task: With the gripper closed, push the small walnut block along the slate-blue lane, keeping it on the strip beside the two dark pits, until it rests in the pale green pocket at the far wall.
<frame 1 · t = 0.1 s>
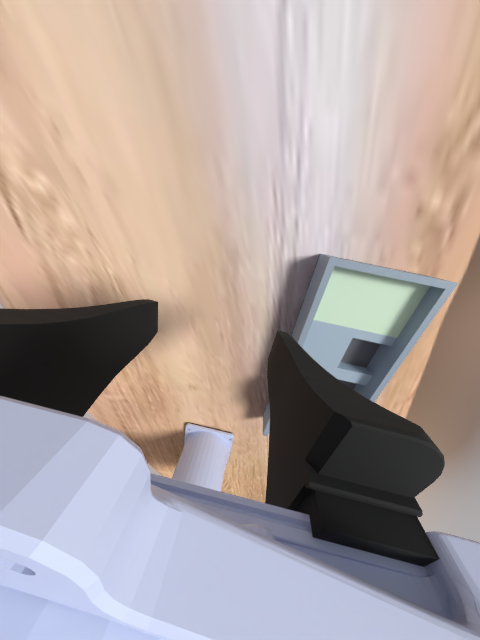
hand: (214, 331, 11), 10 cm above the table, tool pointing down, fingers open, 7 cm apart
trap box: (326, 361, 22), on the table
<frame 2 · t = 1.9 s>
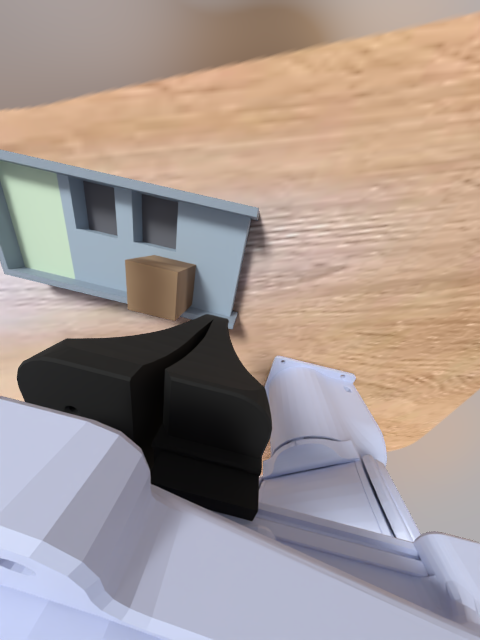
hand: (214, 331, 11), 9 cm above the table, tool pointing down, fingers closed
block: (174, 280, 18), point 2 cm above the table, touching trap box
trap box: (134, 244, 19), on the table
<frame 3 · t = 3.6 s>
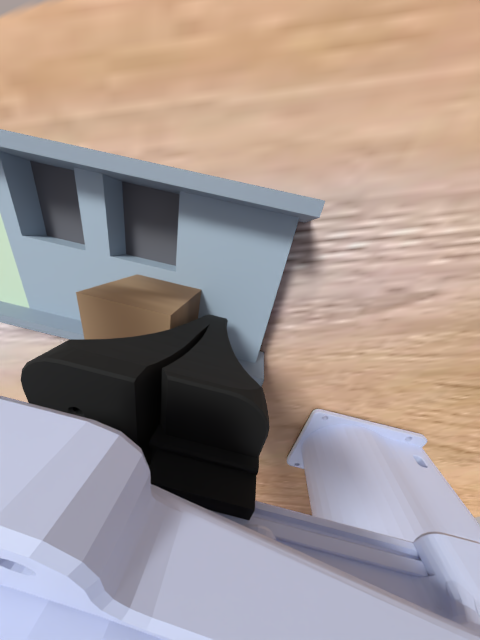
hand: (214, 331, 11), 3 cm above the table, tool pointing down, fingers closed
block: (167, 311, 12), point 2 cm above the table, touching gripper
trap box: (114, 258, 13), on the table
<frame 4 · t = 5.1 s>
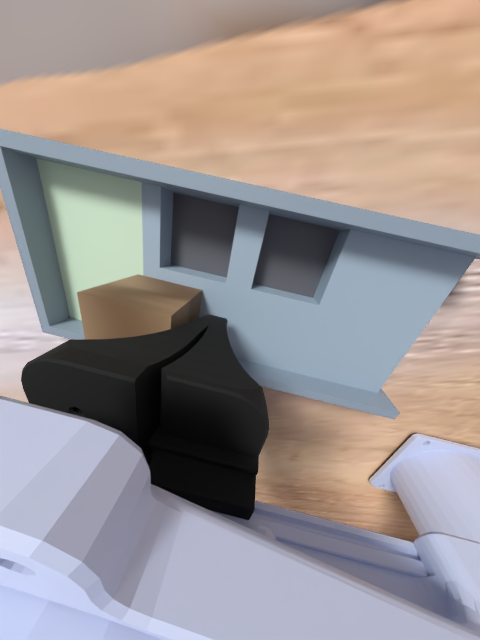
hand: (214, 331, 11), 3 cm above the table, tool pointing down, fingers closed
block: (168, 312, 12), point 2 cm above the table, touching gripper
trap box: (236, 286, 12), on the table
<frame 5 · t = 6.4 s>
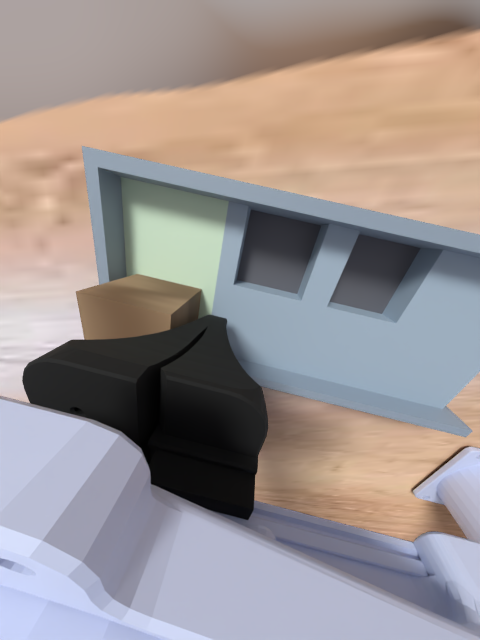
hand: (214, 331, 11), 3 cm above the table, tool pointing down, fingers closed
block: (168, 311, 12), point 2 cm above the table, touching gripper, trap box
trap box: (301, 302, 12), on the table
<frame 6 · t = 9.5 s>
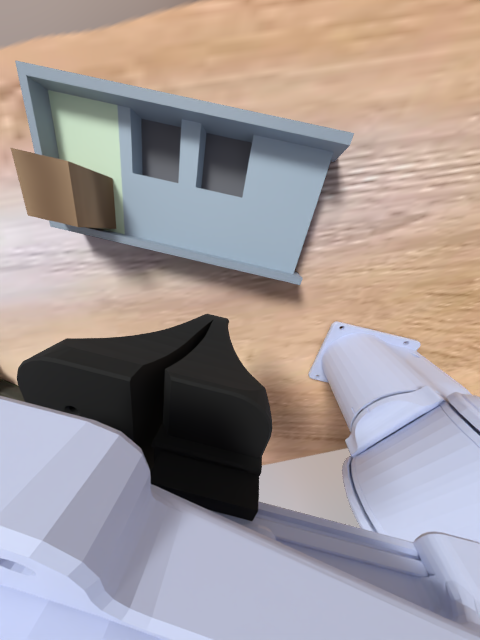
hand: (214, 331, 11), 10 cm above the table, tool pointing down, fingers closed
block: (93, 200, 17), point 2 cm above the table, touching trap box
figurine: (26, 404, 34), on the table
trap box: (190, 195, 17), on the table
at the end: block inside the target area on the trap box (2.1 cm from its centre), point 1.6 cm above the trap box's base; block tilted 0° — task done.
